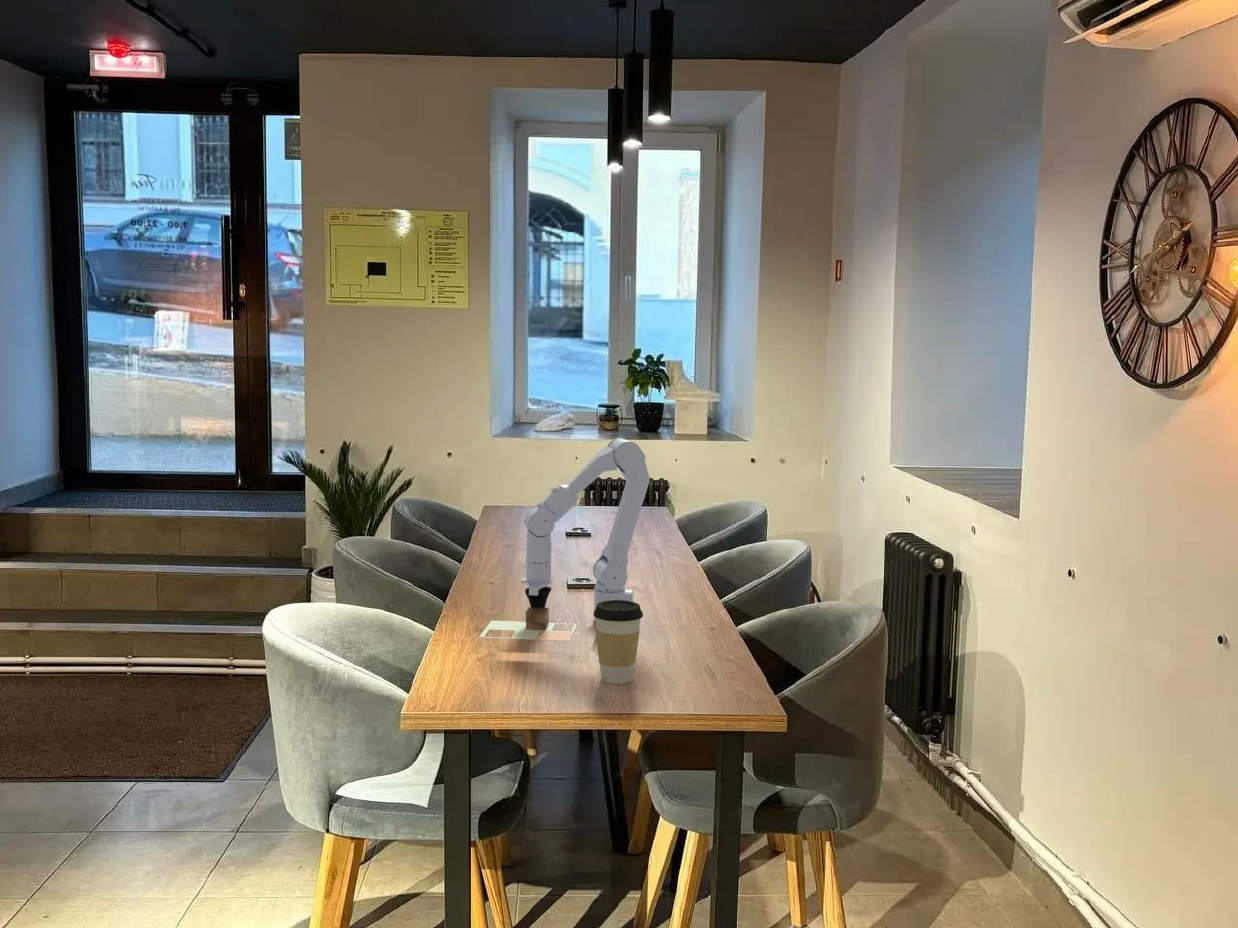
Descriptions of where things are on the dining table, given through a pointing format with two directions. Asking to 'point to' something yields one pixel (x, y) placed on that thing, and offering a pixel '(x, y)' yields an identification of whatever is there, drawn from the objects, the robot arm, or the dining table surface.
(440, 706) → the dining table surface
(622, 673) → the coffee cup
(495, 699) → the dining table surface
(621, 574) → the robot arm
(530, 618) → the block
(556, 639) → the board
